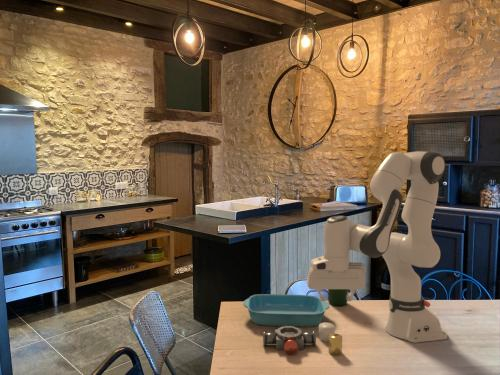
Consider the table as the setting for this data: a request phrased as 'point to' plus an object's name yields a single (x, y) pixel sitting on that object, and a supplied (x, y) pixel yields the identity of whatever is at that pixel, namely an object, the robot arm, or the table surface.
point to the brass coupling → (335, 344)
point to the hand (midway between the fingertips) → (335, 300)
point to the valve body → (289, 339)
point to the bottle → (337, 296)
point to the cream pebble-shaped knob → (326, 331)
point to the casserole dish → (286, 309)
